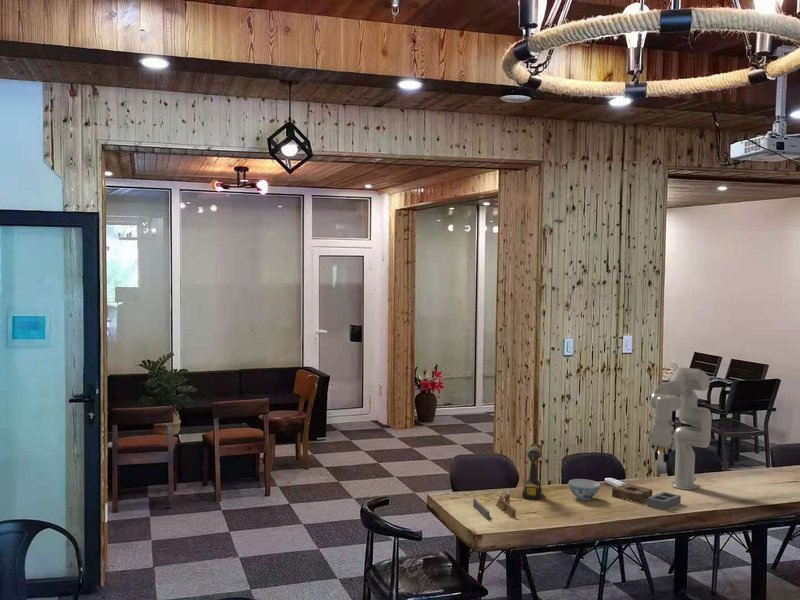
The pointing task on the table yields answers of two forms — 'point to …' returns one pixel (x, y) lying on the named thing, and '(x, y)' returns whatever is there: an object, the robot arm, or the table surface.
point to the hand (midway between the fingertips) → (661, 460)
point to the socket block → (631, 492)
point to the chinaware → (584, 488)
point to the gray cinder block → (663, 500)
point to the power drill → (533, 474)
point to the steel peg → (661, 460)
